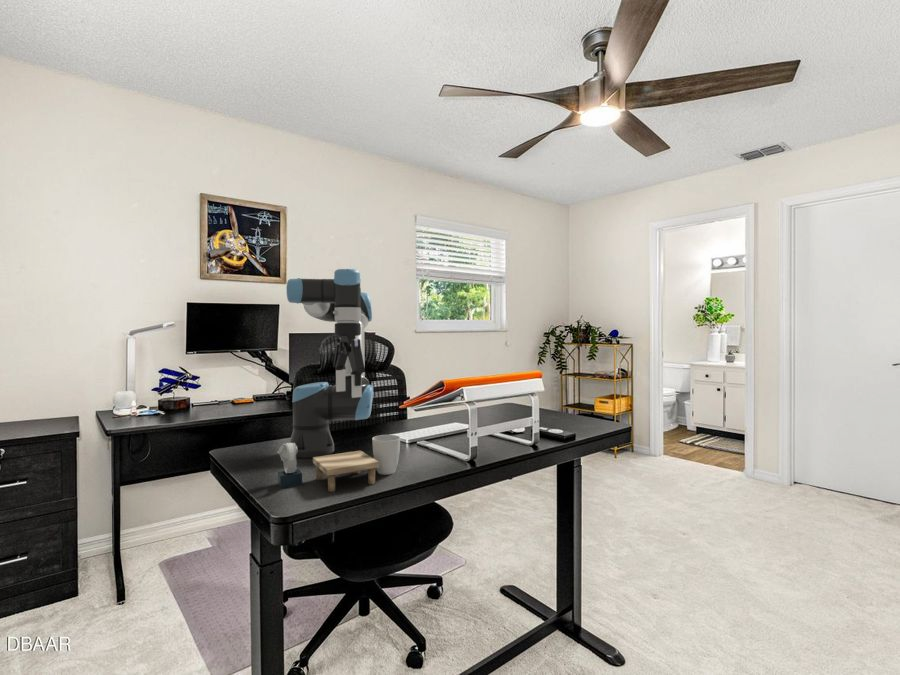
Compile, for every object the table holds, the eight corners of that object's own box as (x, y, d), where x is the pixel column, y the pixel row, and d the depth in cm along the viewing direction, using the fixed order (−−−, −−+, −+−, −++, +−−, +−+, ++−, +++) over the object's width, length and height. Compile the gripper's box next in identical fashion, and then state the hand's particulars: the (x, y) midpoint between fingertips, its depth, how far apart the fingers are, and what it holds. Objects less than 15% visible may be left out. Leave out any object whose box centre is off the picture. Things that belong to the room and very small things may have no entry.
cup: (387, 466, 145) (386, 433, 145) (406, 471, 140) (406, 437, 140) (366, 472, 139) (366, 438, 139) (385, 478, 134) (385, 442, 134)
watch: (297, 478, 134) (297, 439, 134) (303, 486, 127) (302, 445, 127) (276, 481, 131) (276, 441, 131) (281, 490, 124) (280, 447, 124)
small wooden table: (313, 478, 134) (312, 457, 133) (360, 470, 141) (360, 450, 141) (327, 493, 122) (327, 470, 121) (379, 484, 129) (378, 461, 129)
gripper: (322, 322, 149) (323, 389, 150) (350, 322, 128) (351, 401, 129) (345, 322, 153) (346, 388, 154) (376, 322, 132) (377, 398, 133)
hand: (348, 394), depth 141 cm, fingers open, 13 cm apart
